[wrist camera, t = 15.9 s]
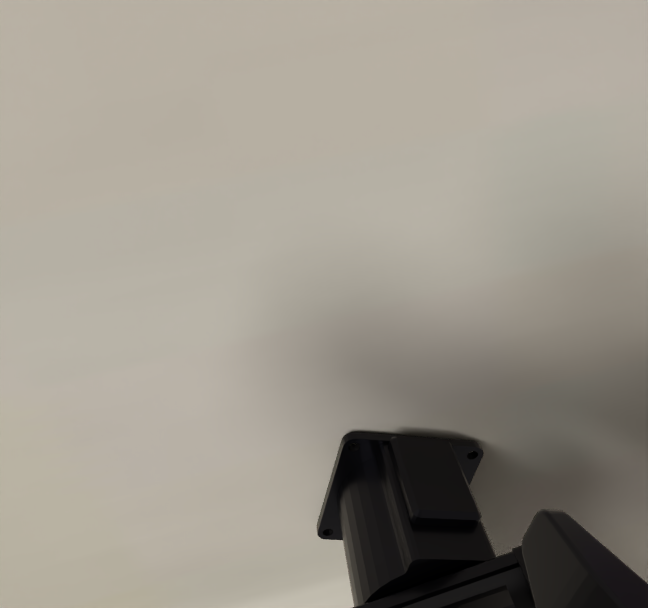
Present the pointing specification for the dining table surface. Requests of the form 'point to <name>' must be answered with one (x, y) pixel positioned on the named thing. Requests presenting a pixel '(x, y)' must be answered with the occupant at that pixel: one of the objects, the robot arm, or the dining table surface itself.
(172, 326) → the dining table surface
